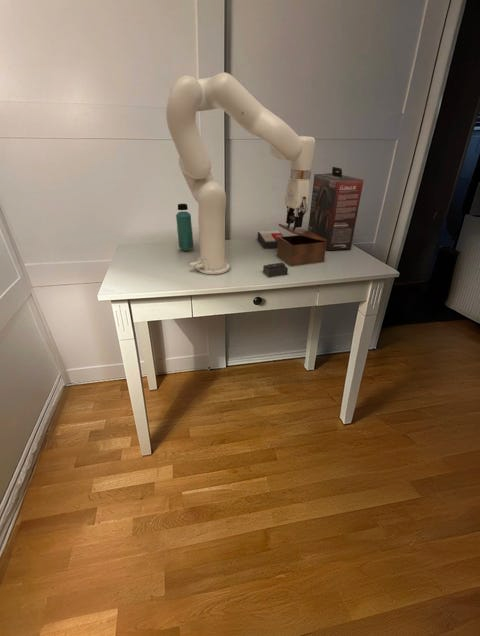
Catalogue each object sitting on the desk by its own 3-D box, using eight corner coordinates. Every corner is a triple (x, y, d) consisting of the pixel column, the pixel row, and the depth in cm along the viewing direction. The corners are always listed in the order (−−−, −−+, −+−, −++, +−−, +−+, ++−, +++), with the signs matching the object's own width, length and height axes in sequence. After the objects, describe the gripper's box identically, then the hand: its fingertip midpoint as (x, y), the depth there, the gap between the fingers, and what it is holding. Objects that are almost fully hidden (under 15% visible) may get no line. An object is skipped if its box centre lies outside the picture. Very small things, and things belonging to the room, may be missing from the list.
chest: (290, 266, 124) (292, 245, 120) (276, 256, 135) (278, 237, 130) (323, 261, 129) (327, 242, 125) (308, 252, 139) (310, 233, 135)
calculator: (264, 240, 141) (257, 230, 153) (264, 249, 143) (257, 238, 155) (288, 239, 142) (279, 229, 155) (287, 248, 145) (278, 237, 157)
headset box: (305, 236, 161) (314, 164, 144) (328, 234, 163) (339, 164, 146) (326, 251, 140) (339, 170, 123) (351, 250, 142) (367, 170, 125)
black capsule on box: (269, 277, 115) (269, 266, 113) (263, 271, 119) (263, 261, 117) (287, 274, 117) (288, 264, 115) (280, 269, 122) (281, 259, 119)
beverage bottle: (195, 252, 138) (192, 204, 128) (180, 253, 136) (176, 206, 126) (191, 247, 143) (188, 201, 133) (177, 249, 141) (173, 202, 131)
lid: (293, 233, 118) (298, 218, 115) (278, 225, 128) (283, 211, 125) (326, 241, 125) (332, 227, 123) (310, 233, 135) (315, 220, 133)
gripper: (280, 172, 120) (275, 220, 129) (303, 178, 106) (296, 231, 115) (297, 172, 122) (291, 219, 131) (321, 178, 108) (313, 230, 117)
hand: (293, 224), depth 123 cm, fingers closed on lid, 5 cm apart
